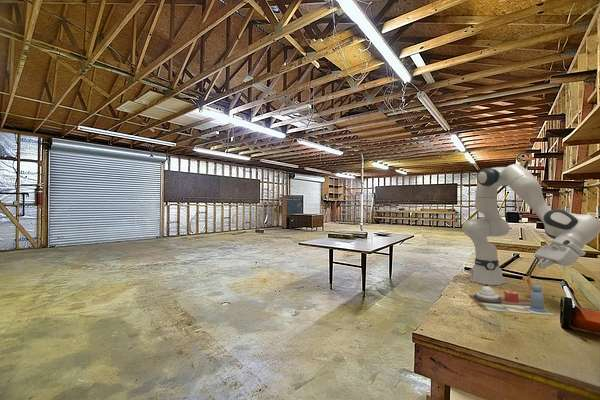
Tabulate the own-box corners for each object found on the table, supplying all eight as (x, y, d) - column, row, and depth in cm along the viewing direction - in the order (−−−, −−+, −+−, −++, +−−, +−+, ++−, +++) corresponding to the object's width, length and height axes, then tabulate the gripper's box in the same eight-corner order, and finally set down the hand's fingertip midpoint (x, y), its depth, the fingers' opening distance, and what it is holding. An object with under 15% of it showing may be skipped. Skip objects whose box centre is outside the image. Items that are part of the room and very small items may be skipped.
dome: (473, 293, 135) (473, 283, 136) (494, 294, 133) (493, 284, 133) (480, 299, 127) (479, 288, 127) (502, 300, 124) (501, 289, 125)
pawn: (527, 307, 118) (526, 282, 119) (541, 308, 117) (540, 283, 117) (533, 311, 113) (532, 286, 114) (548, 312, 112) (547, 287, 112)
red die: (504, 299, 130) (504, 290, 130) (514, 299, 129) (514, 291, 129) (508, 302, 126) (508, 293, 126) (518, 302, 125) (518, 293, 125)
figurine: (539, 304, 127) (538, 278, 127) (523, 301, 131) (521, 276, 131) (541, 299, 132) (540, 275, 133) (525, 297, 137) (524, 273, 137)
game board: (467, 297, 138) (467, 292, 138) (527, 301, 130) (527, 296, 131) (483, 313, 116) (483, 308, 116) (556, 319, 109) (556, 313, 109)
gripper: (544, 238, 129) (521, 258, 131) (574, 242, 109) (547, 266, 111) (556, 248, 127) (533, 268, 129) (589, 254, 107) (561, 277, 110)
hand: (540, 267), depth 120 cm, fingers closed
